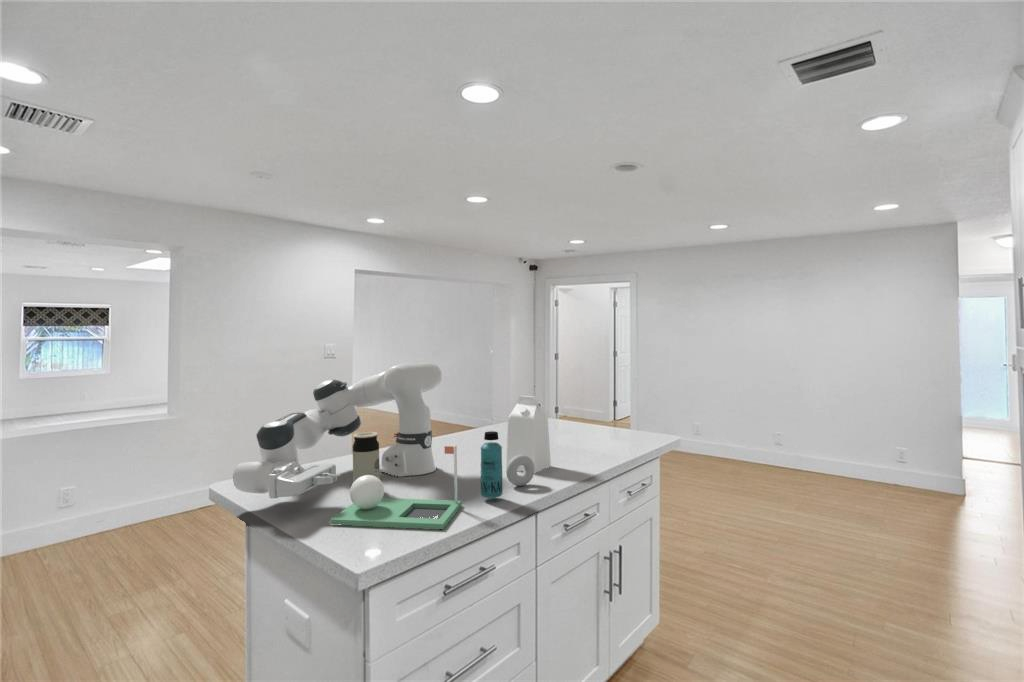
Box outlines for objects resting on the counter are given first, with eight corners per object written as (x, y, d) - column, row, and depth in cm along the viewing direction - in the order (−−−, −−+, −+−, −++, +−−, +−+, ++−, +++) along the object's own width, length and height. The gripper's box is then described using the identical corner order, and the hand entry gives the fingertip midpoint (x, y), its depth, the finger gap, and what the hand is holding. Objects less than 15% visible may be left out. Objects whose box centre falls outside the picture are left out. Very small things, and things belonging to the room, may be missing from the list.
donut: (509, 489, 158) (509, 457, 158) (504, 487, 161) (503, 455, 161) (537, 484, 163) (536, 453, 163) (531, 482, 166) (531, 451, 166)
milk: (550, 466, 186) (549, 395, 185) (535, 473, 176) (533, 398, 176) (522, 462, 192) (521, 393, 192) (506, 469, 182) (505, 397, 182)
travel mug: (348, 493, 157) (346, 435, 157) (364, 486, 164) (362, 431, 164) (369, 496, 154) (368, 437, 154) (384, 488, 161) (383, 432, 161)
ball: (342, 511, 137) (342, 477, 137) (367, 501, 144) (366, 469, 144) (367, 516, 132) (366, 481, 132) (391, 505, 140) (390, 473, 140)
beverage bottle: (480, 497, 151) (479, 430, 151) (502, 495, 152) (501, 429, 152) (481, 504, 145) (479, 434, 145) (504, 503, 145) (502, 433, 145)
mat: (330, 525, 130) (329, 457, 130) (362, 502, 148) (360, 442, 148) (442, 530, 126) (441, 459, 125) (461, 506, 143) (460, 444, 143)
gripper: (309, 479, 152) (352, 480, 150) (265, 500, 132) (314, 502, 130) (309, 458, 152) (352, 458, 150) (265, 476, 132) (313, 477, 130)
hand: (334, 479), depth 140 cm, fingers closed
